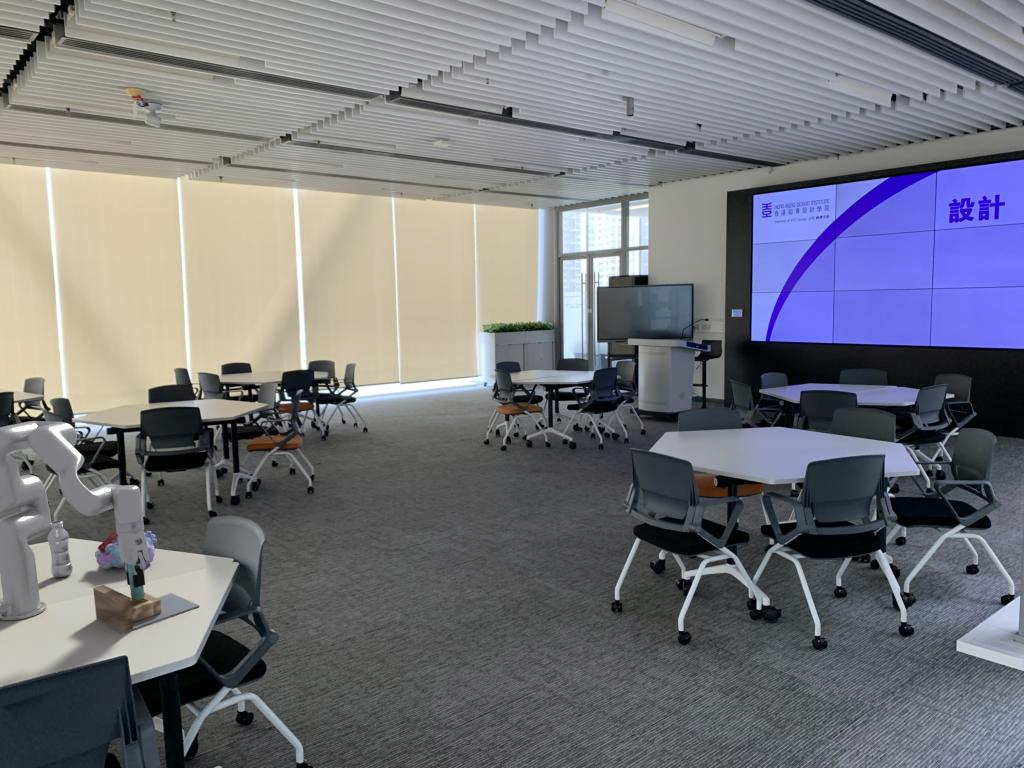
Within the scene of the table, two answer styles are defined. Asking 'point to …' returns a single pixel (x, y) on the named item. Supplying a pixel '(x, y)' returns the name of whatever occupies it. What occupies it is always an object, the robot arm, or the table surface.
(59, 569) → the plastic bottle
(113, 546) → the cotton candy cloud
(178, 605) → the slate base
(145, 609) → the oak block
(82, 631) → the table surface
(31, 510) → the robot arm
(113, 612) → the walnut wall
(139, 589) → the dowel
